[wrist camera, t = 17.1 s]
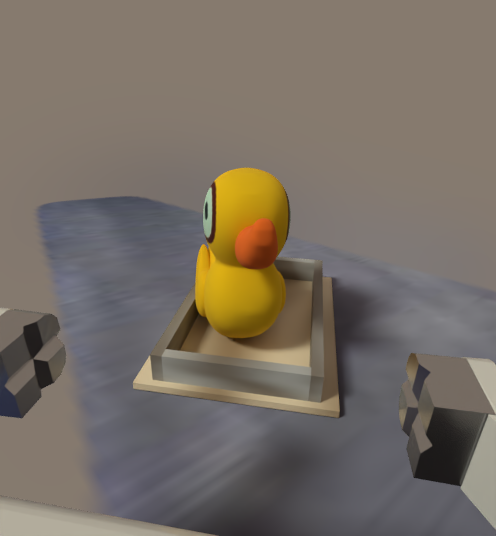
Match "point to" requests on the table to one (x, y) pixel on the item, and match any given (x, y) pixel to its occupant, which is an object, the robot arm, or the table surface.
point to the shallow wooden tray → (256, 352)
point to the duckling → (242, 253)
